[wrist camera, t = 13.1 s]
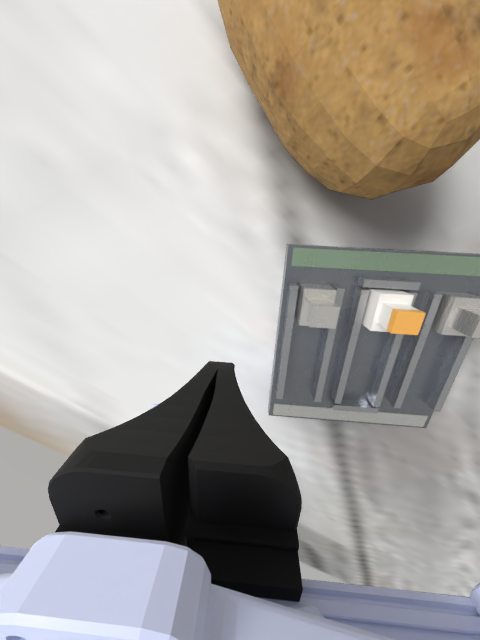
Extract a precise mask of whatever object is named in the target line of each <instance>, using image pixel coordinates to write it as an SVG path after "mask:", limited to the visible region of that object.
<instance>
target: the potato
mask: <svg viewBox="0 0 480 640" xmlns="http://www.w3.org/2000/svg"><path fill="white" fill-rule="evenodd" d="M218 4H219V7H220V11H221V15H222V18H223V22H224V26H225V29H226V33H227V37H228V40H229V44H230V48H231V50H232V52H233V54H234V56H235V58H236V60H237V62H238V64H239V66H240V68H241V70H242V72H243V74H244V76H245V78H246V80H247V82H248V84H249V85H250V87H251V89H252V91H253V93H254V94H255V96H256V98H257V100H258V102H259V103H260V105H261V107H262V109H263V111H264V112H265V114H266V116H267V118H268V119H269V121H270V123H271V125H272V126H273V128H274V130H275V132H276V133H277V135H278V137H279V139H280V140H281V142H282V144H283V146H284V147H285V148H286V150H287V151H288V152H289V153H290V154H291V155H292V156H293V157H294V158H295V160H296V161H297V162H298V163H299V164H300V165H301V166H302V167H303V169H304V170H305V171H306V172H307V173H309V174H310V175H311V176H312V177H314V178H315V179H316V180H318V181H319V182H320V183H321V184H323V185H324V186H325V187H326V188H328V189H330V190H334V191H338V192H343V193H347V194H351V195H355V196H359V197H363V198H367V199H371V200H372V199H375V198H378V197H380V196H383V195H386V194H389V193H392V192H395V191H399V190H403V189H407V188H410V187H414V186H418V185H421V184H425V183H429V182H433V181H434V180H435V179H437V178H438V177H439V176H440V175H441V174H443V173H444V172H445V171H446V170H448V169H449V168H450V167H451V166H453V165H454V164H455V163H456V162H457V161H458V160H459V159H460V158H461V157H462V156H463V155H464V154H465V153H466V152H467V151H468V150H469V149H470V148H471V147H472V146H473V145H474V144H475V143H476V142H477V141H478V140H479V139H480V0H218Z"/></svg>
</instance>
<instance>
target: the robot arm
mask: <svg viewBox="0 0 480 640" xmlns="http://www.w3.org/2000/svg"><path fill="white" fill-rule="evenodd" d="M48 493H49V498H50V501H51V504H52V506H53V509H54V511H55V514H56V516H57V519H58V522H59V524H60V525H59V527H58V528H57V530H56V531H55V533H51V534H48V535H46V536H44V537H43V538H42V539H40V540H39V541H37V542H36V543H35V544H34V545H33V546H32V548H31V549H25V548H15V547H6V546H0V640H480V583H479V584H478V585H476V586H475V587H474V588H473V590H472V592H471V594H470V597H463V596H454V595H445V594H436V593H427V592H418V591H408V590H399V589H390V588H381V587H372V586H363V585H354V584H344V583H335V582H326V581H316V580H308V579H301V573H300V565H299V557H298V549H299V541H298V534H297V526H298V521H299V517H300V512H301V504H302V499H301V494H300V490H299V486H298V483H297V480H296V477H295V474H294V471H293V469H292V466H291V464H290V461H289V459H288V457H287V456H286V455H285V454H284V453H283V452H282V451H281V450H280V449H279V448H278V447H277V446H276V445H275V444H274V443H273V442H272V441H271V439H270V438H269V437H268V436H267V435H266V433H265V432H264V431H263V429H262V428H261V427H260V425H259V424H258V423H257V421H256V420H255V418H254V417H253V415H252V414H251V412H250V410H249V408H248V407H247V405H246V403H245V401H244V399H243V396H242V394H241V392H240V389H239V386H238V383H237V380H236V377H235V371H234V364H233V363H226V362H212V361H209V362H208V363H207V364H206V365H205V366H204V367H203V368H202V369H201V370H200V371H199V372H198V373H197V374H196V375H195V376H194V377H193V378H192V379H191V380H190V381H189V382H188V383H187V384H185V385H184V386H183V387H182V388H181V389H179V390H178V391H177V392H176V393H175V394H173V395H172V396H171V397H169V398H168V399H166V400H165V401H163V402H162V403H160V404H159V405H152V406H151V408H150V410H148V411H147V412H145V413H143V414H141V415H140V416H138V417H136V418H134V419H132V420H129V421H127V422H125V423H123V424H121V425H119V426H116V427H114V428H111V429H109V430H106V431H104V432H101V433H99V434H96V435H93V436H91V437H88V438H85V439H84V441H83V442H82V443H81V444H80V445H79V446H78V447H77V448H76V449H75V451H74V452H73V453H72V454H71V455H70V457H69V458H68V459H67V460H66V462H65V463H64V464H63V465H62V467H61V468H60V469H59V470H58V472H57V473H56V474H55V475H54V476H53V478H52V479H51V480H50V482H49V486H48Z"/></svg>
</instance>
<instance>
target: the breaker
mask: <svg viewBox="0 0 480 640" xmlns="http://www.w3.org/2000/svg"><path fill="white" fill-rule="evenodd" d="M369 290H370V292H369V296H368V300H367V303H366V307H365V311H364V315H363V319H362V324H363V325H364V326H365V327H366V328H367V329H369V330H370V331H380V332H390V333H393V334H408V335H418V334H419V331H420V328H421V326H422V323H423V320H424V317H425V314H426V313H425V312H423V311H420V310H418V309H416V308H414V307H412V306H411V303H412V300H413V297H414V295H412V294H409V293H407V292H404V291H401V290H395V289H378V288H369Z"/></svg>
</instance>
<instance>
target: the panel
mask: <svg viewBox="0 0 480 640" xmlns="http://www.w3.org/2000/svg"><path fill="white" fill-rule="evenodd" d="M369 288H378V289H395V290H401V291H404V292H407V293H409V294H412V295H414V297H413V300H412V303H411V306H412V307H414V308H416V309H418V310H420V311H423V312H425V313H426V314H425V317H424V320H423V323H422V326H421V328H420V331H419V334H418V335H408V334H393V333H390V332H380V331H370V330H369V329H367V328H366V327H365V326H364V325H363V324H362V319H363V315H364V311H365V307H366V303H367V300H368V296H369V292H370V290H369ZM473 338H480V254H472V253H452V252H432V251H413V250H393V249H373V248H354V247H334V246H314V245H294V244H287V248H286V256H285V265H284V274H283V283H282V292H281V300H280V309H279V318H278V327H277V336H276V344H275V353H274V362H273V371H272V380H271V388H270V397H269V406H268V412H269V415H273V416H285V417H298V418H310V419H322V420H335V421H347V422H359V423H372V424H384V425H396V426H409V427H421V428H426V427H427V424H428V422H429V420H430V418H431V415H432V413H433V411H440V410H441V408H442V406H443V404H444V402H445V399H446V397H447V395H448V393H449V391H450V388H451V386H452V384H453V382H454V380H455V377H456V375H457V373H458V371H459V369H460V366H461V364H462V362H463V360H464V358H465V355H466V353H467V351H468V349H469V347H470V344H471V342H472V340H473Z"/></svg>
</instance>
